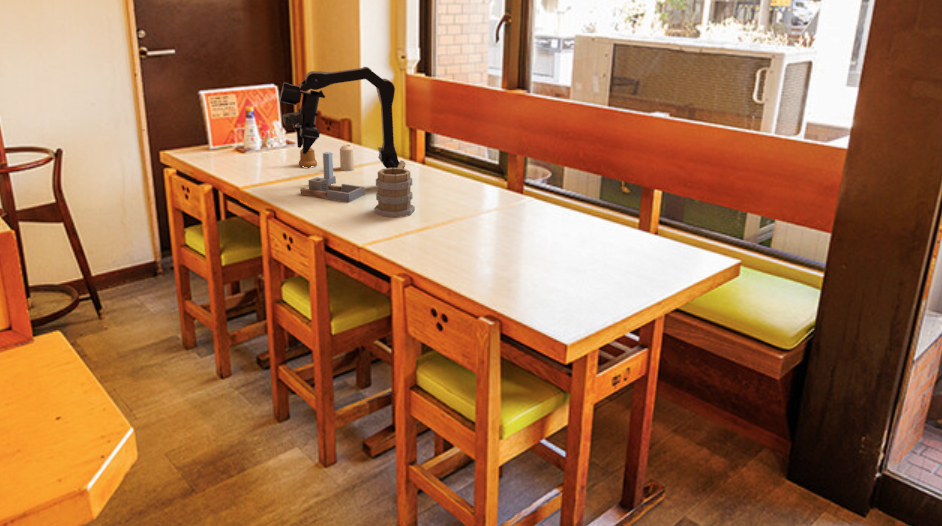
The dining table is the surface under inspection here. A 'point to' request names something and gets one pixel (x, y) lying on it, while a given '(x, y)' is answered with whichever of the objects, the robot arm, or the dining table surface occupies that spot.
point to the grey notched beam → (328, 168)
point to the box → (346, 193)
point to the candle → (347, 157)
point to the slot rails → (320, 193)
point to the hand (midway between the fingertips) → (301, 150)
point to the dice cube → (319, 184)
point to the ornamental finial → (307, 158)
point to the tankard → (394, 192)
